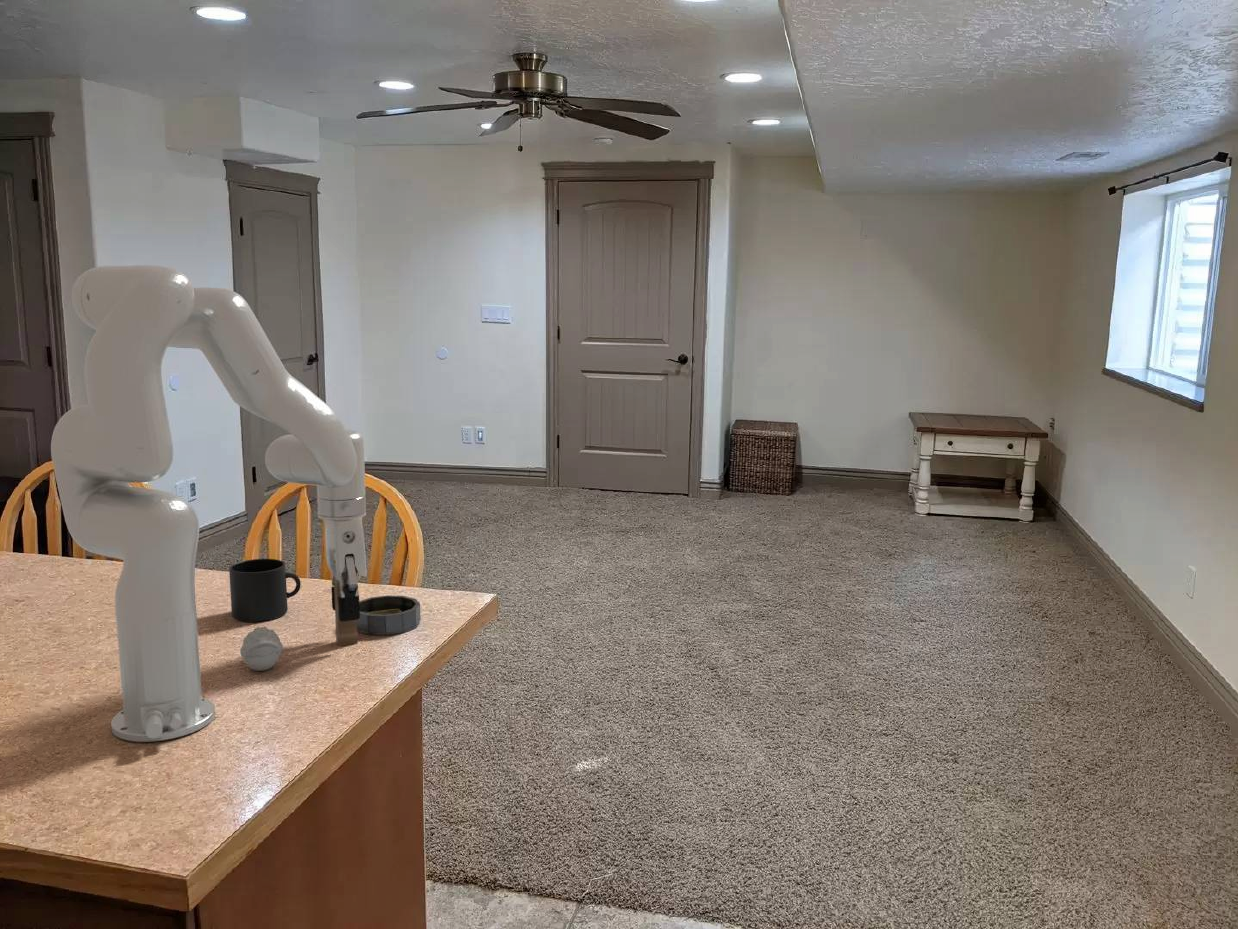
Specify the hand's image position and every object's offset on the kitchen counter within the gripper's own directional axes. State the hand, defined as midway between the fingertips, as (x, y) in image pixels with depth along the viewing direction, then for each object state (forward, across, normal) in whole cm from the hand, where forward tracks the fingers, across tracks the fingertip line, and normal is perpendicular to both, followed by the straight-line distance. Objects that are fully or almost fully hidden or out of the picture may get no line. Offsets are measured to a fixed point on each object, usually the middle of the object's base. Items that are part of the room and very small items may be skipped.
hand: (345, 613), depth 160 cm
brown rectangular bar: (+5, 0, 0) cm, 5 cm away
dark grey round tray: (+5, +6, -8) cm, 11 cm away
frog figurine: (+5, -7, +14) cm, 16 cm away
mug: (+5, +21, +10) cm, 24 cm away
